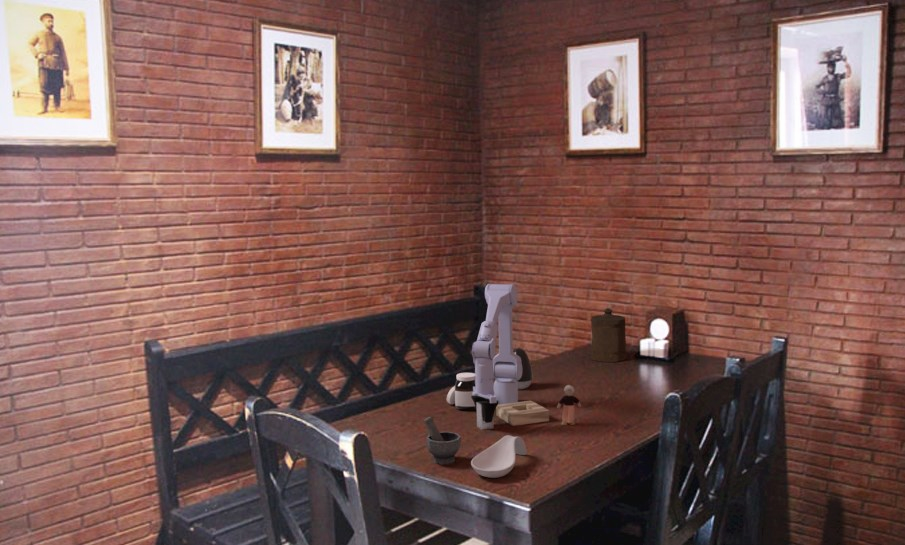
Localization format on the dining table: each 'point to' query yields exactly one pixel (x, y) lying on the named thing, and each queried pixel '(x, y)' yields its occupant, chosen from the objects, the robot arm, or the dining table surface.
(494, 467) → the spoon rest
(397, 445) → the dining table surface
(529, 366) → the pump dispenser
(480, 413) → the steel peg
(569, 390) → the grandmother figurine
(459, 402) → the spread jar
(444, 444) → the mortar and pestle
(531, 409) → the maple hole block
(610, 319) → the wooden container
